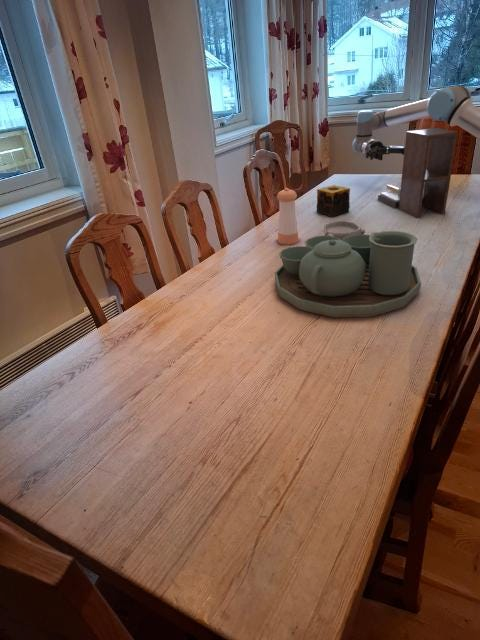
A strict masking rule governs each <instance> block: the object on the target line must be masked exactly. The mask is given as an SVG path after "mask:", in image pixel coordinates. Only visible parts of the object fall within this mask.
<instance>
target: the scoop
mask: <svg viewBox="0 0 480 640" xmlns="http://www.w3.org/2000/svg"><path fill="white" fill-rule="evenodd" d="M386 189H387V190H388V191H393V192H396V193H398V197H400V190H401V187H397V186H394V185H392V184H386Z"/></svg>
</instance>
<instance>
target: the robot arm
mask: <svg viewBox="0 0 480 640" xmlns="http://www.w3.org/2000/svg"><path fill="white" fill-rule="evenodd" d="M426 118H430V119H431V120H433V121H437V122H441V121H442V122H443V123H445V124H447V125H449V127H456V126H458V127H460V128H461V129H462V130H464V131H466V132H467V133H469V134H470V135H472V136H473V137H475V138H477V139H479V140H480V108H479V107H478V106H476V105H474V101H473V98H472V94H471V90H469V89H468V88H467V87H466V86H464V85H460V84H459V85H453V86H448V87H446V86H445V87H441V88H439V89H437V90H435V91H434V92H433V93H432V94H431V95H430V97H429V98H425V99H422V100H417V101H415V102H411V103H407V104H404V105H399V106H397V107H393V108H392V107H391V108H389V109H385V110H381V111H378V112H374V111H373V110H371V109H369V110H368V109H367V110H359V111H358V112H357V115H356V128H355V129H356V130H355V138H354V140H353V141H352V150H353V151H354V152H355V153H357V154H359V155H363V156H365V159H369V160H370V161H372V160H374V159H375V160H378V161H383V158H384V157H383V156H384V155H390V154H400V155H403V156H404V151H405V145H404V146H401V145H391V144H390V145H384V144H383V142H382V141H380V140H377V139H373V131H375V130H379V129H385V128H388V127H391V126H396V125H399V124H404V123H408V122H412V121H418V120H421V119H422V120H423V119H426Z"/></svg>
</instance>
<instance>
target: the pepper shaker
mask: <svg viewBox="0 0 480 640" xmlns="http://www.w3.org/2000/svg"><path fill="white" fill-rule="evenodd" d="M297 198H298V194H297V192H296V191H295V190H293V189H289V187H285V188H284V189H283V190H280V191H279V192H278V193H277V194H276V199H277V201H278V202H279V203H278V205H279V206H278V207H279V208H278V209H279V215H278V224H277V225H278V232H277V242H278V243H279V244H281V245H294V244H296V243H298V242H299V231H298V219H297V215H296V200H297Z"/></svg>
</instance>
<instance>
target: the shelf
mask: <svg viewBox="0 0 480 640" xmlns="http://www.w3.org/2000/svg"><path fill="white" fill-rule="evenodd" d="M458 133H459V131H457V130H450V129H445V128H436V127H432V128H423V129H416V130H407V131H406V132H405V142H404V146H405V151H404V155H403V161H402V162H403V163H402V171H401V181H400V188H401V190H400V199H399V208H398V209H399V210H401V211H403V212H405V213H407V214H409V215H411V216H413V217H414V218H415V217H416V218H421V213H422V207H423V206H424V207H425V208H428V209H430V210H432V211H435V212H438V213H439V214H441V215H444V214H446V210H447V209H446V208H447V201H448V196H449V189H450V184H451V178H452V170H453V165H454V159H455V152H456V146H457V139H458ZM422 198H423V201H422Z"/></svg>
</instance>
